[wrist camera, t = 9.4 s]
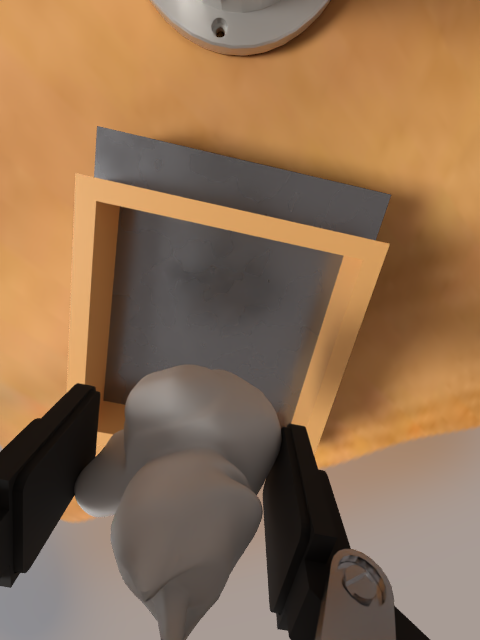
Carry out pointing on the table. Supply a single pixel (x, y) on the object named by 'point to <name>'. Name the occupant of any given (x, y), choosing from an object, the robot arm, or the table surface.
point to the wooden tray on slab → (217, 275)
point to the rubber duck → (183, 487)
